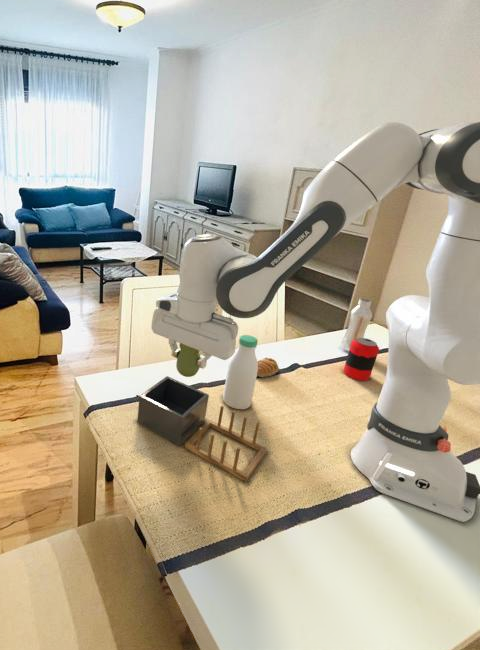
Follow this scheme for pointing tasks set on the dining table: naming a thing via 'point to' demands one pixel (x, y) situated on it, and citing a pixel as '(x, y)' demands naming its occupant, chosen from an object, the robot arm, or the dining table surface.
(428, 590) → the dining table surface
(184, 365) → the pear
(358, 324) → the plastic bottle
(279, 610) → the dining table surface
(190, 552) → the dining table surface
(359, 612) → the dining table surface
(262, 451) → the drying rack
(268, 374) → the pastry
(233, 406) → the milk bottle
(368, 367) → the soda can
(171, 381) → the dark grey open box
